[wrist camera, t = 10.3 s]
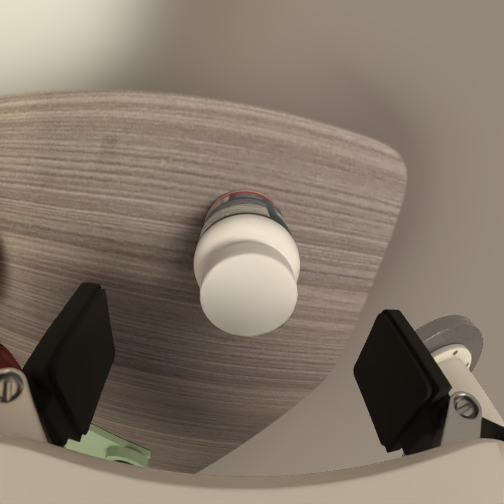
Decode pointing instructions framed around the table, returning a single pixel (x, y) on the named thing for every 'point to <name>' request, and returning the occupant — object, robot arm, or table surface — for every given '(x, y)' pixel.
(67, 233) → the table surface
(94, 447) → the scale
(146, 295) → the table surface
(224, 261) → the pill bottle
